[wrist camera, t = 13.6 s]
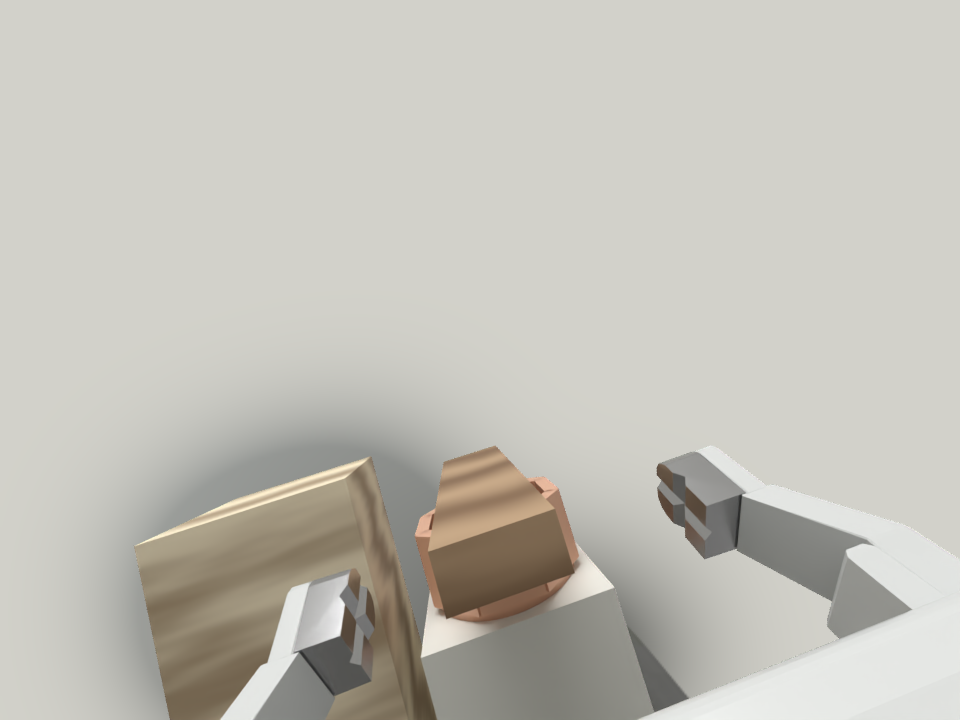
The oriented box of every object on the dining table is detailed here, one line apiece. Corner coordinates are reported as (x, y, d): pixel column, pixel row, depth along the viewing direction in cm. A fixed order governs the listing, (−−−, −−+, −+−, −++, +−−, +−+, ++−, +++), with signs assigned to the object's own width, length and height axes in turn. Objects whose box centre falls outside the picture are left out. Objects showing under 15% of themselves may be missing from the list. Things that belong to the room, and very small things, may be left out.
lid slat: (575, 572, 13) (555, 508, 13) (446, 619, 12) (427, 551, 12) (502, 471, 32) (495, 445, 32) (451, 487, 31) (443, 461, 31)
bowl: (598, 585, 19) (571, 499, 20) (433, 645, 19) (409, 554, 19) (554, 528, 28) (536, 469, 28) (440, 567, 27) (423, 506, 28)
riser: (732, 959, 17) (614, 587, 19) (527, 1056, 16) (420, 658, 18) (631, 756, 27) (559, 523, 29) (500, 810, 26) (433, 566, 28)
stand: (488, 1027, 17) (345, 478, 20) (262, 1167, 16) (134, 546, 18) (465, 805, 27) (371, 456, 30) (324, 877, 25) (236, 498, 28)
